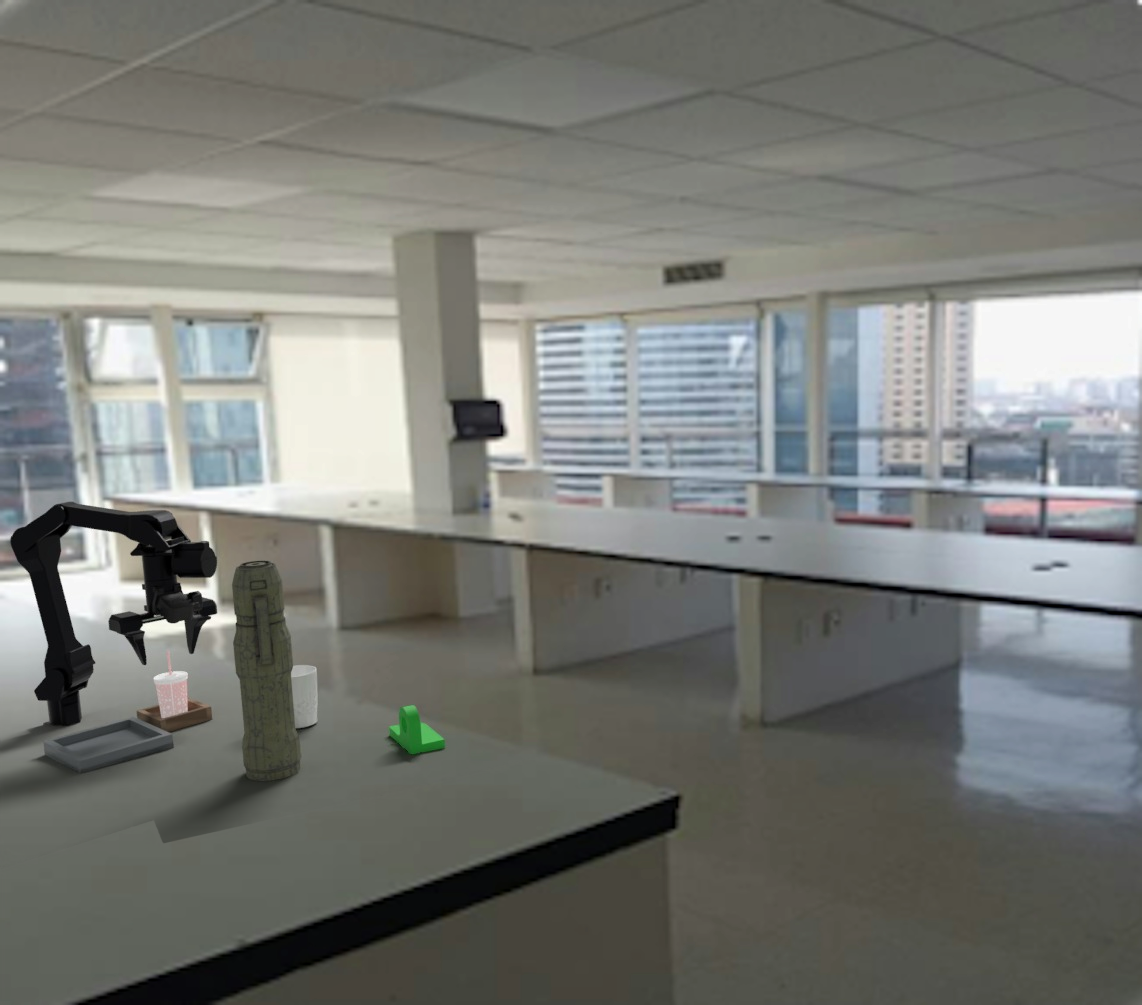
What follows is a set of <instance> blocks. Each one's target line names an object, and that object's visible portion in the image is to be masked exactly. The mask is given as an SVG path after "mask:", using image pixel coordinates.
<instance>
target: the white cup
mask: <svg viewBox="0 0 1142 1005" xmlns="http://www.w3.org/2000/svg"><path fill="white" fill-rule="evenodd" d="M291 680H292V692H293V704H294V716H295V728H296V729H301V728H302V729H303V728H307V727H310V726H313V725H315V724H317V722H318V706H319V704H318V699H319V698H318V697H319V696H318V672H317V667H316V666H313V665H311V664H310V665H309V664H298V665H297V664H296V665H293V668H292V671H291Z"/></svg>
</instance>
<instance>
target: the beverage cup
mask: <svg viewBox="0 0 1142 1005" xmlns="http://www.w3.org/2000/svg"><path fill="white" fill-rule="evenodd" d="M166 656H167V668H168V672H167V671H166V672H163V673H159V674H157V675H155V676H154V677H153V683H154V684H155V689H156V693H157V694H156V695H157V701H158V705H159V706H160V712H161V718H166V717H170V716H173V715H177V714H180V713H184V712H188V704H187V697H188V679H189V677H188V675H189V674H188V672H187V671H184V670H182V671H181V670H174V671H172V662H171V652H170V649H166Z"/></svg>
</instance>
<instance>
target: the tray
mask: <svg viewBox="0 0 1142 1005" xmlns="http://www.w3.org/2000/svg"><path fill="white" fill-rule="evenodd" d="M42 742H43V743H42V744H43V751H44V756H46V757H48V758H50V759H51V760H53V761H55V762H57V763H60V764H62V765H63V766H65V767H67V768H70V769H71V770H73V771H76V772H77V773H79V774H84V773H86V772H90V771H93V770H99V769H101V768H105V767H108V765H109V766H112V765H116V764H119V762H120V763H123V761H124V762H127V761H130V759H131V760H134V759H133V758H135V759H137V757H138V758H141V757H140V756H142V757H145V755H146V756H149V755H153V754H155V753H160V752H163V751H166V750H171V749H174V746H175V744H174V735H173V734H172V733H171V732H167V731H164V730H162V729H160V728H158V727H156V726H153V725H151V724H149V723H147V722H144V721H142V720H140V719H138V718H137V717H135V716H129V717H126V718H123V719H119V720H115V721H111V722H108V723H104V724H101V725H97V726H93V727H90V728H85V729H82V730H78V731H75V732H72V733H68V734H63V735H61V736H57V737H53V738H50V739H46V740H42ZM126 760H127V761H126Z"/></svg>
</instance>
